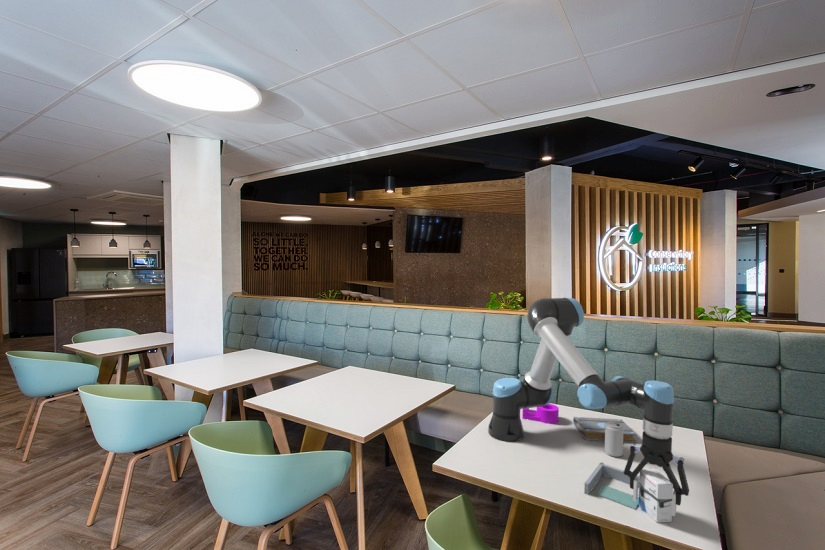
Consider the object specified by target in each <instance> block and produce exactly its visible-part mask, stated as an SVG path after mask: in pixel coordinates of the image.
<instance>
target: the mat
mask: <svg viewBox="0 0 825 550" xmlns="http://www.w3.org/2000/svg"><path fill="white" fill-rule="evenodd" d="M597 496H599V497H602V498H604V499H607V500H609V501H613V502H614V503H615V502H616V503H618V504H620V505H623V506H624V507H625V506H626V507H627V508H630V509H633V510H636V509H637V508H638V506H639V505H638V500H639V497H638V498H637V500H636V502H635V501H633V495H632V494H629V493H627V492H624V491H622V490H619V489H616V488H614V487H611V486H609V485H606V484H603V485H602V486H601V488H600V490H599V491H598V493H597Z"/></svg>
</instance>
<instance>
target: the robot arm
mask: <svg viewBox="0 0 825 550" xmlns="http://www.w3.org/2000/svg"><path fill="white" fill-rule="evenodd" d="M584 313H585V312H584V310H583V307H582V305H581V303H580V302H579V301H578V300H577V299H575V298H572V297H556V298H555V297H553V298H552V297H551V298H546V297H545V298H538V299H537V300H535V301H534V302H533V303H532V304H530V306H529V308H528V311H527V323H528V325H529V327H530V329H531V331H532V332H533V334H534V335H535V336H536V337H538V338H540V342H539V345H538V348H537V350H536V354H535V357H534V359H533V361H532V365H531V367H530V371H527V372H526V373H525V374H524V377H523V379H522V380H520V379H518V378H516V377H503V378H499V379H498V380H495V382H494V383H493V388H492V416H491V419H490V422H489V424H488V427H487V428H488V429H487V431H488V434H489V435H490V436H491V437H492V438H494V439H496V440H498V441H499V440H500V441H503V442H504V441H505V442H517V441H520V440H522V439H523V438H524V435H525V434H524V433H525V430H524V426H523V422H522V420H521V410H523V409H525V408H529V409H530V408H537V407H542V406H545V405H548V404H551V403H552V401H553V399H554V393H555V392H554V387H553V385H552V382H551V377H552V374H553V371H554V369H555V366H556V363H557V361H558V362H559V364H560V365H561V367H562V368H563V369H564V370H565V371H566V373H567V374H568V375H569V377H570V378H571V379H572V381H573V382H574V384H575V385H576V386H577V387H578V389H577V391H576V393H577V398H578V399H579V400H578V401H579V403H580V404H581V406H582V407H584V408H586V409H587V410H596V409H597V410H601V409H604V408H610V407H618V406H625V405H632V406H634V407H637V408H638V409H641V410H643V412H642V413H643V417H642V418H643V419H642V430H643V431H642V439H641V440H642V441H641V443H642V444H641V446H640V445H636V443H632V444H631V445H630V447H629V450H630V451H629V452H630V454H629V456H628V459H627V461H626V465H625V467H624V469H623V471H624V474H625V475H627V476H629V477H630V484H629V488H630V489H632V491H633V492H632V493H633V501H635V502H636V500H637V498H639V488H638V477H636V476H637V475H638V476H639V474H640V471H641V470H642V469H644V468H645V466H646V465H647V464H650V465H652V466H653V465H655V466H657V467H659V468H662V470H663V471H664V472H665V474H666V476H667V479H668V480H669V481H670V482H671V483H672V484H673V497H672V517H676V513H677V506H681V504H682V495H683V496H689V495H690V494H689V493H690V487H689V483H688V480H687V475H686V471H685V468H684V463H685V459H684V458H683V457H678V456H674V454H673V452H672V450H673V448H672V447H673V445H672V444H673V438H672V437H673V426H674V420H673V414H674V406H675V397H674V396H675V395H674V394H675V393H674V387H673V386H672V385H671V384H670V383H667V382H665V381H659V380H653V379H652V380H646V381H645V383H642V382H640V381H637V380H633V379H631V378H629V377H625V376H623V375H622V376H621V375H617V376H616V375H615V376H614V377H612V378H611V379H610V380H609V381H604V380H603V379H602V377H601V376H600V375H599V374H598V372H596V371H595V369H594V368H593V367H592V365H591V364H590V363H589V362H588V361H587V360H586V358H585V357H584V356H583V354H582V353H581V352H580V351H579V349H578V348H577V347H576V346H575V345H574V344H573V342H572V341H571V339H570V338H569V337H570V336H571V335H572V332H573V330H574V328H575V327H576V328H577V327H579V326H581V325H582V324H583V323H584V319H585V314H584ZM639 452H640V453H641V455H643V459H642V460H641V461H640V462H639V463H638V465H637V466H636V467H635V468H634V469H633V471H631V469H632V465H633V463H634V460H635V457H636V454H638V453H639ZM672 461H673V463H674V464H675V466H676V467H677V473H678V476H679V482H680V484H679V482H678V480H677V478H676V476H675V473H674V472H673V470H672V467H671V464H670V462H672ZM680 485H681V486H680Z"/></svg>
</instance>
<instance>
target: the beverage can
mask: <svg viewBox="0 0 825 550" xmlns="http://www.w3.org/2000/svg"><path fill="white" fill-rule="evenodd" d="M623 432H624V429H623V425H622V424H620V423H617V422H613V421H609V422H607V424H606V425H605V441H604V452H605V453H606V455H608V456H611V457H614V458H620V457H622V456H623V455H624V453H623V452H624V442H623Z"/></svg>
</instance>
